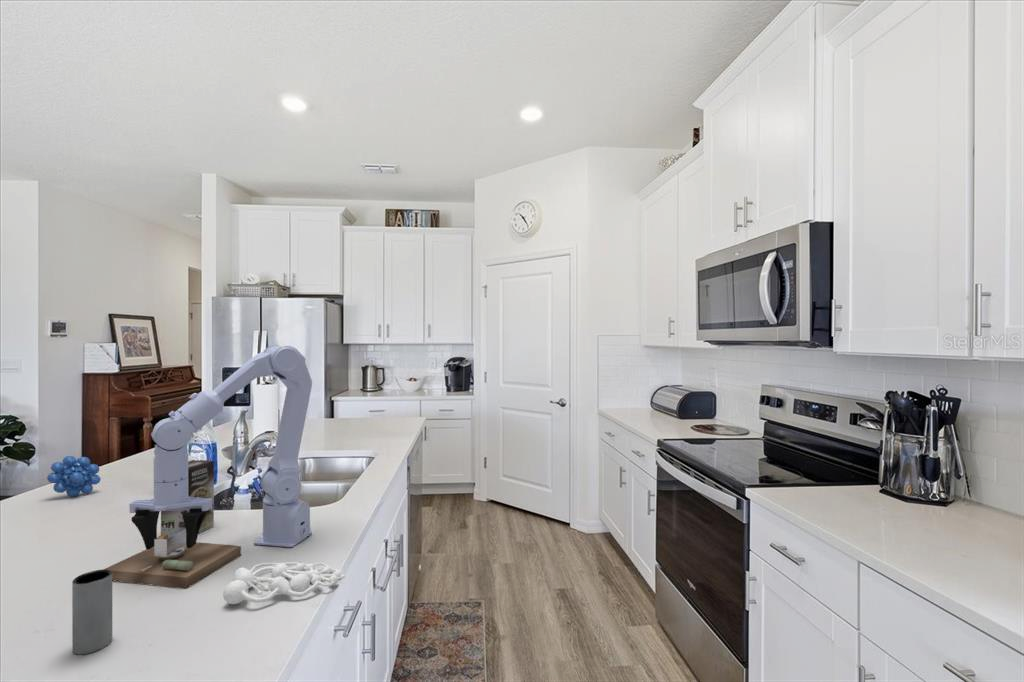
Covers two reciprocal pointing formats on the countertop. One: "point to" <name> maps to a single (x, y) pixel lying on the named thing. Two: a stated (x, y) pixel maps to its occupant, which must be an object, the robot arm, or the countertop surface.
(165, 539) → the knob
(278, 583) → the tangled rod sculpture
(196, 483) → the coffee box
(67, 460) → the blue ball cluster
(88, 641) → the planter
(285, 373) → the robot arm
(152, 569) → the base
